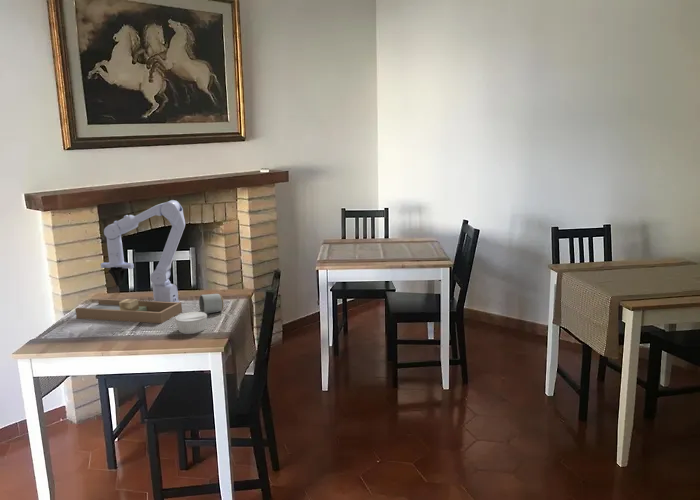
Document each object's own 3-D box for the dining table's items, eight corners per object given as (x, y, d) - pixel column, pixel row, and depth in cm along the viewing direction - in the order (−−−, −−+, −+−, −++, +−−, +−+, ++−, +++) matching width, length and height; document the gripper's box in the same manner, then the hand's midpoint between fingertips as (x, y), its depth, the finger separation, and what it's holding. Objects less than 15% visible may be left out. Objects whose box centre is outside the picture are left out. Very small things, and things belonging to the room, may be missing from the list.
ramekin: (191, 337, 203) (190, 322, 202) (169, 332, 209) (168, 318, 208) (214, 327, 212) (213, 313, 211) (193, 323, 218) (191, 310, 217)
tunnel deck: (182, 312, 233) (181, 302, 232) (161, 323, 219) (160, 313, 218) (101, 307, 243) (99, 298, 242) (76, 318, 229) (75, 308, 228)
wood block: (139, 309, 232) (138, 299, 231) (131, 312, 227) (130, 302, 226) (128, 308, 233) (127, 298, 233) (120, 312, 229) (119, 302, 228)
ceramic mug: (225, 312, 230) (223, 293, 229) (205, 316, 226) (203, 297, 224) (216, 307, 239) (215, 288, 238) (196, 310, 235) (195, 292, 233)
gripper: (94, 254, 237) (98, 286, 240) (124, 255, 233) (128, 288, 236) (105, 251, 244) (109, 282, 246) (135, 251, 240) (138, 283, 242)
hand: (119, 285), depth 242 cm, fingers closed
